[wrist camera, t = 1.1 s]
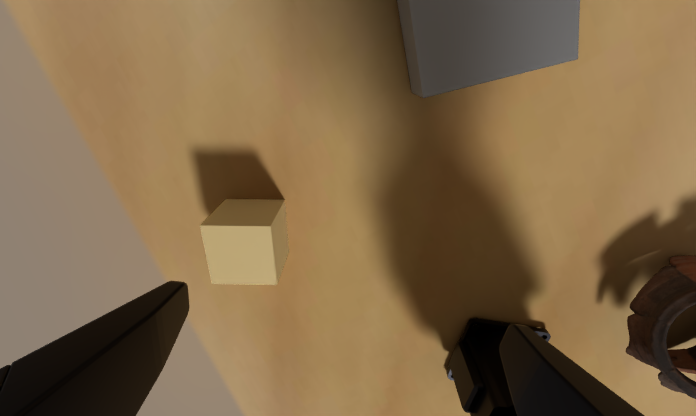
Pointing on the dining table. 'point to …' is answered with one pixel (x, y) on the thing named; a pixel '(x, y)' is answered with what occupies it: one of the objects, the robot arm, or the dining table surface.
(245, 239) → the brick
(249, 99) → the dining table surface
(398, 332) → the dining table surface
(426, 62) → the base brick
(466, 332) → the robot arm
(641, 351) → the brown curved ring
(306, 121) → the dining table surface
